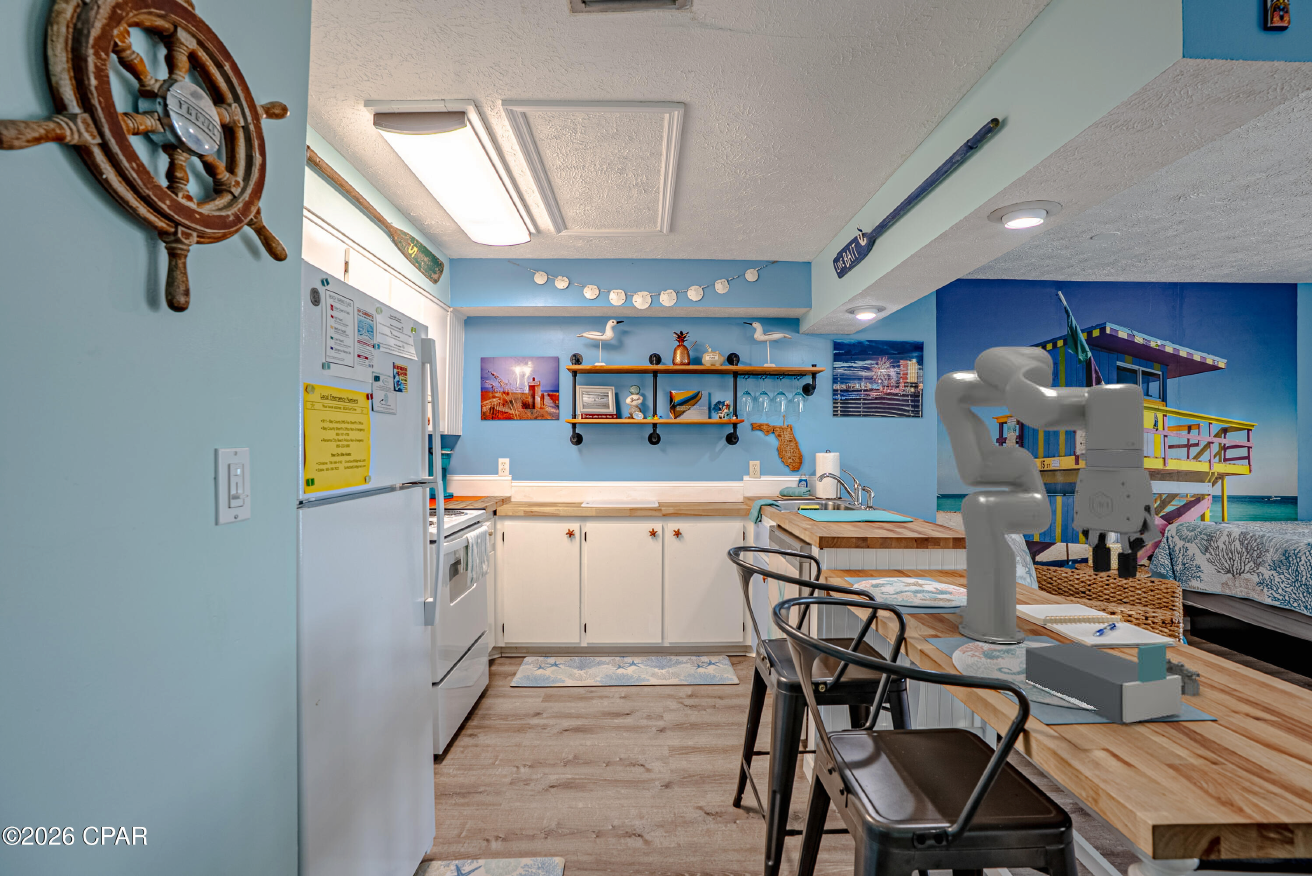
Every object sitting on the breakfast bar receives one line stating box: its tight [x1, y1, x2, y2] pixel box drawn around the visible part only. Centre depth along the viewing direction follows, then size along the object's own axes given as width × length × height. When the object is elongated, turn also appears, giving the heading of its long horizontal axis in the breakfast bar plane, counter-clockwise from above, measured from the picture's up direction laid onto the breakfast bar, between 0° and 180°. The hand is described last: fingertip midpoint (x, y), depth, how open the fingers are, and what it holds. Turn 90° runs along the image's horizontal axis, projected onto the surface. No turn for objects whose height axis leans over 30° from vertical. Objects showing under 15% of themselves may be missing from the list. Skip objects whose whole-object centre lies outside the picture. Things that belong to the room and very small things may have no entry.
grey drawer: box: [1122, 643, 1182, 724], centre depth 98 cm, size 16×11×11 cm
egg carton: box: [1136, 651, 1202, 697], centre depth 104 cm, size 11×8×4 cm
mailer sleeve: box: [1025, 641, 1175, 725], centre depth 98 cm, size 16×12×6 cm
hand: (1114, 573), depth 95 cm, fingers open, 3 cm apart
